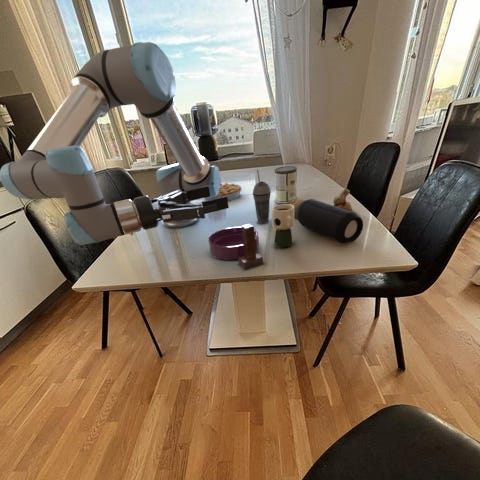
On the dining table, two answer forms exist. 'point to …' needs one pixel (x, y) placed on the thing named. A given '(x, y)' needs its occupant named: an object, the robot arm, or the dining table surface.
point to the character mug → (283, 224)
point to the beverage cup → (262, 201)
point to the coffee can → (285, 184)
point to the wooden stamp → (249, 249)
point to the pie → (228, 191)
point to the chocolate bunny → (342, 200)
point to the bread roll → (296, 205)
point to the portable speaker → (330, 220)
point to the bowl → (229, 243)
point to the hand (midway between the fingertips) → (217, 196)
